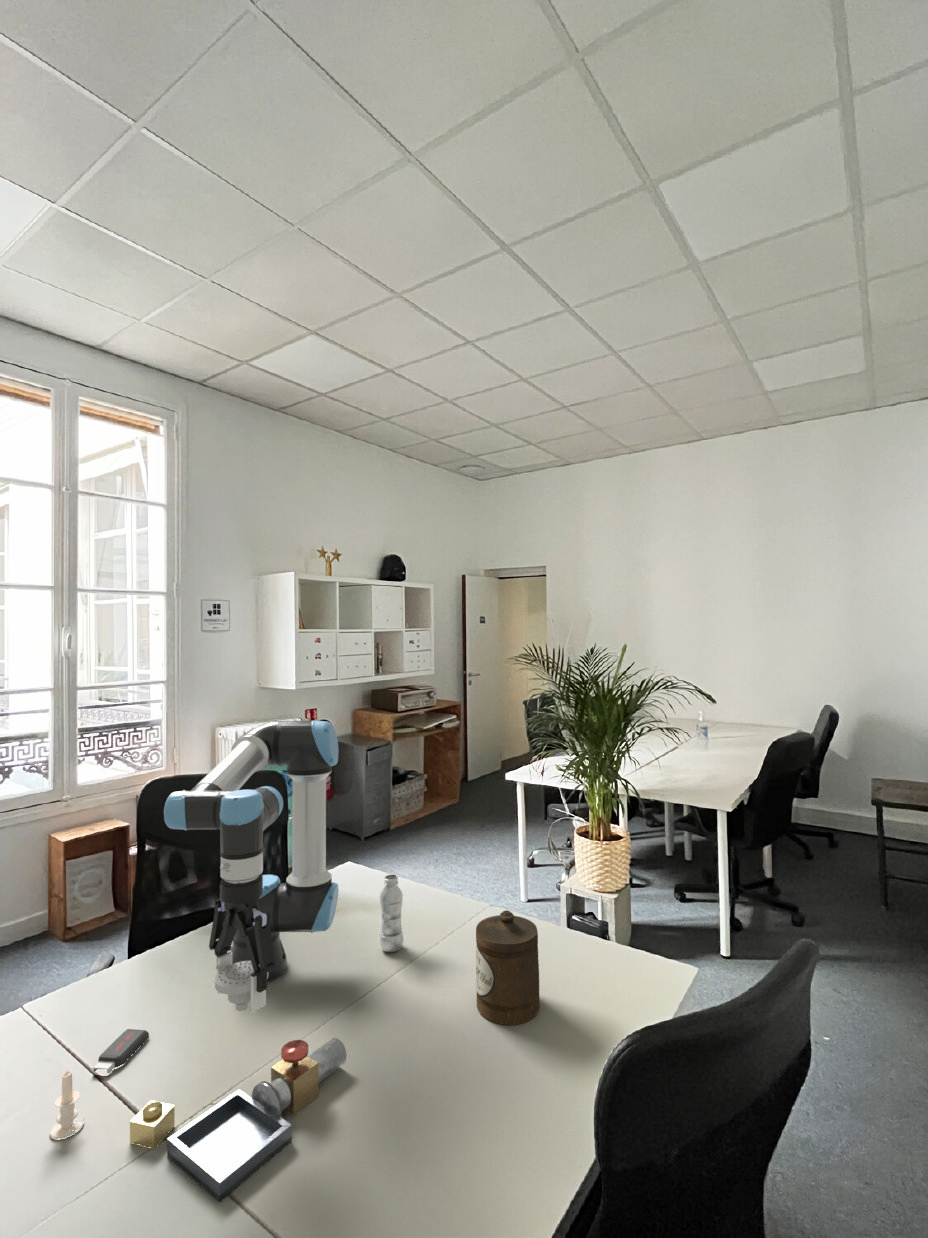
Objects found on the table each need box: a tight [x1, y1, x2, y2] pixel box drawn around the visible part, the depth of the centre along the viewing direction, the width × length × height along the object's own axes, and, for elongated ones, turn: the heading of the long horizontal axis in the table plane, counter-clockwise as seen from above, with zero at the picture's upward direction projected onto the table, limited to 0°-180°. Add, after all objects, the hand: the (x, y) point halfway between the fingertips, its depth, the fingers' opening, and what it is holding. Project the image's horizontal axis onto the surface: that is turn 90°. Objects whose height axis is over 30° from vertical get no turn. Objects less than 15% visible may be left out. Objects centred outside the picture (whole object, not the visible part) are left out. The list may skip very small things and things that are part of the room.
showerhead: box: [214, 960, 268, 1012], centre depth 117 cm, size 9×7×10 cm
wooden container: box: [475, 910, 541, 1026], centre depth 149 cm, size 15×15×22 cm
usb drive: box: [92, 1028, 150, 1074], centre depth 132 cm, size 5×12×3 cm, turn 173°
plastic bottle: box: [379, 874, 404, 953], centre depth 175 cm, size 6×7×20 cm
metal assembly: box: [166, 1037, 348, 1203], centre depth 116 cm, size 15×32×10 cm, turn 145°
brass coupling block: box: [129, 1100, 176, 1150], centre depth 112 cm, size 5×5×5 cm
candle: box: [49, 1070, 82, 1139], centre depth 113 cm, size 5×5×10 cm
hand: (241, 998), depth 117 cm, fingers closed on showerhead, 9 cm apart
